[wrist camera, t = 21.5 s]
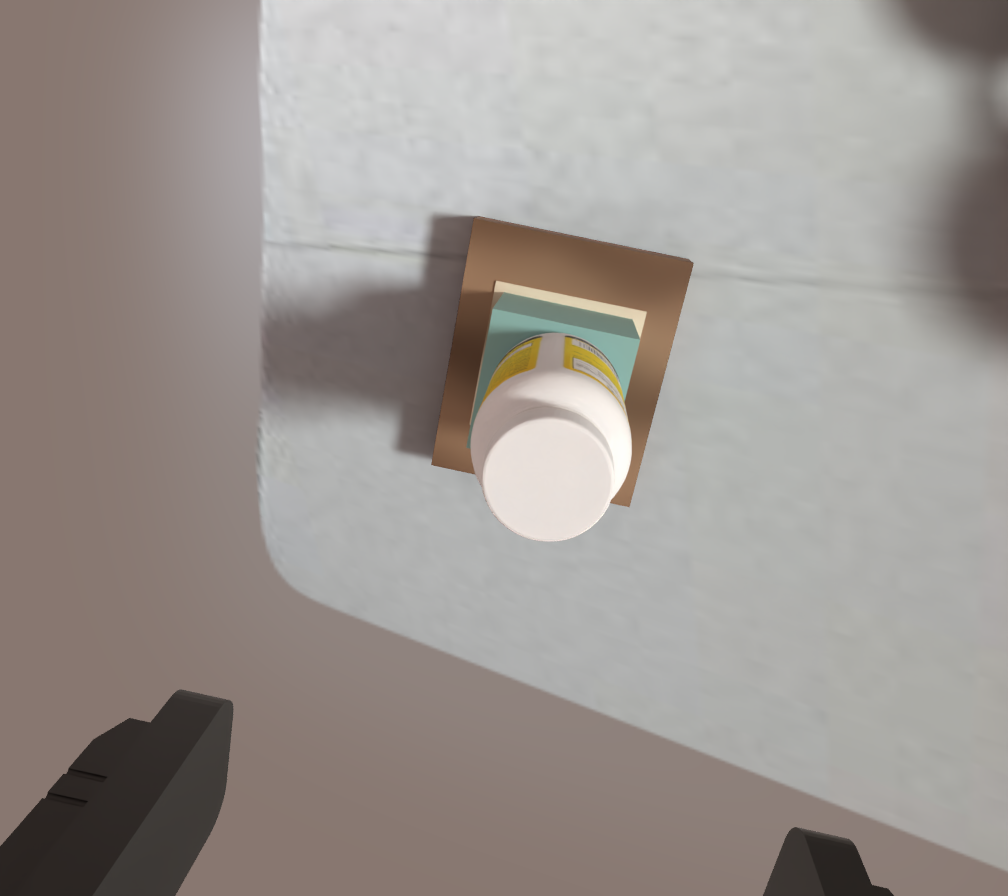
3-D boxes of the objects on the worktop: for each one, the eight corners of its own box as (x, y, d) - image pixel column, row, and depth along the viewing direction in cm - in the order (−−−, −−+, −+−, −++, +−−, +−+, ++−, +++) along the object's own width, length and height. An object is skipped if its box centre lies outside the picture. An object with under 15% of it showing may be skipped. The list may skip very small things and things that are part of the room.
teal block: (504, 292, 37) (492, 308, 32) (632, 319, 37) (640, 340, 32) (480, 415, 39) (466, 447, 34) (602, 441, 39) (605, 477, 34)
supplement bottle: (489, 456, 34) (455, 558, 25) (490, 328, 33) (454, 387, 23) (618, 461, 34) (632, 567, 25) (626, 332, 32) (645, 394, 23)
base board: (479, 216, 38) (473, 218, 36) (688, 259, 38) (693, 263, 36) (438, 452, 42) (431, 465, 40) (627, 492, 42) (629, 507, 40)
